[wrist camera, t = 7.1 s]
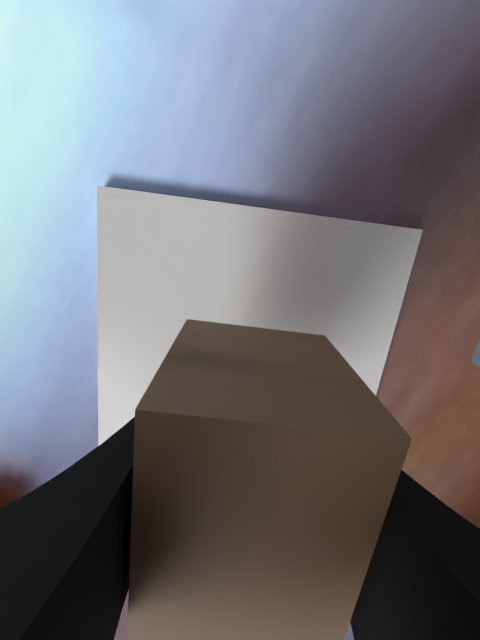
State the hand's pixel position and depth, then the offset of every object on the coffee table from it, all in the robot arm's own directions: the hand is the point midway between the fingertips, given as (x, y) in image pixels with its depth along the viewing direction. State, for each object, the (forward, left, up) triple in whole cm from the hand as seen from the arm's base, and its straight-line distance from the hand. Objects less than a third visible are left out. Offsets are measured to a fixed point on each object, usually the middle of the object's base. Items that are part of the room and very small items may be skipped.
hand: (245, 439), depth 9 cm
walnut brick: (0, 0, -1) cm, 1 cm away
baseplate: (0, 0, -7) cm, 7 cm away
